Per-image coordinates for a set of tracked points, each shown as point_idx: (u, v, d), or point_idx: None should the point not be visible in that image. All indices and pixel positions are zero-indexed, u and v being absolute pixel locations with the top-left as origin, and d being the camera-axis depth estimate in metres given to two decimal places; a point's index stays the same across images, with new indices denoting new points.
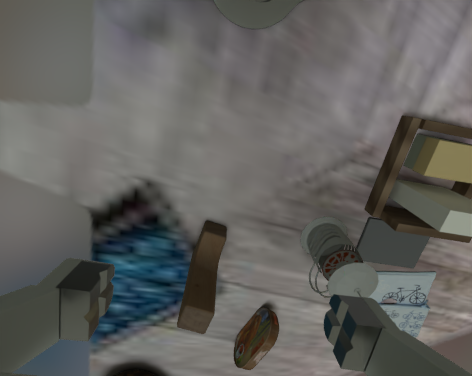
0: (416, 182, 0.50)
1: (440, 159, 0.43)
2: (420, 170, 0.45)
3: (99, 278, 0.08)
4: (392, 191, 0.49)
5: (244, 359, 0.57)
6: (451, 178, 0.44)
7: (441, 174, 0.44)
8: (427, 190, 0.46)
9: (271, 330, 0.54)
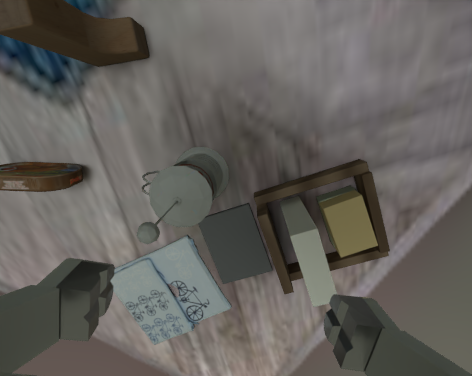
0: None
1: (345, 210, 0.40)
2: (324, 205, 0.41)
3: (99, 278, 0.08)
4: (287, 202, 0.45)
5: None
6: (334, 235, 0.41)
7: (332, 223, 0.41)
8: None
9: (58, 178, 0.40)
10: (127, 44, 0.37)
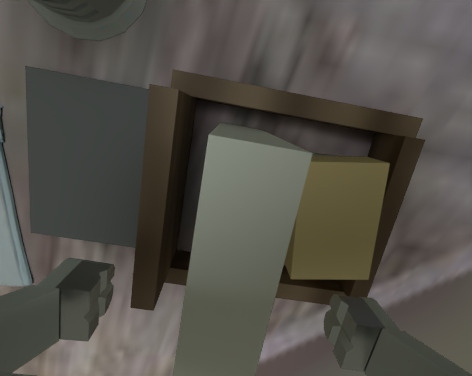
0: None
1: (343, 185, 0.18)
2: None
3: (99, 278, 0.08)
4: (236, 125, 0.21)
5: None
6: (299, 229, 0.19)
7: (305, 203, 0.18)
8: None
9: None
10: None
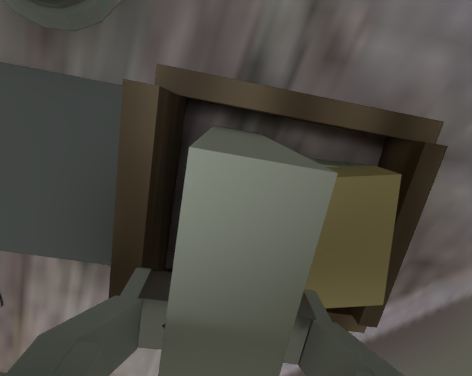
0: None
1: (348, 202, 0.15)
2: None
3: None
4: (231, 129, 0.18)
5: None
6: None
7: None
8: None
9: None
10: None
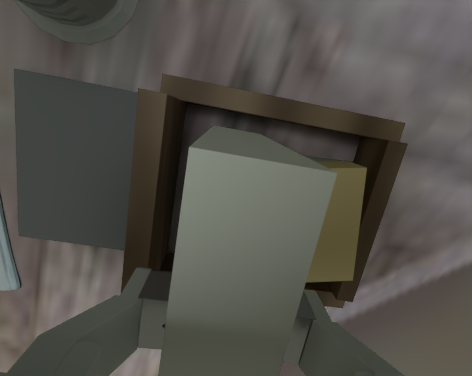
0: None
1: None
2: None
3: None
4: (231, 129, 0.18)
5: None
6: None
7: None
8: None
9: None
10: None
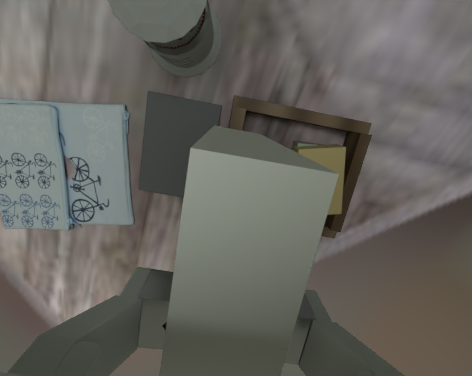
0: None
1: (322, 160, 0.33)
2: (300, 148, 0.34)
3: None
4: (231, 129, 0.18)
5: None
6: None
7: None
8: None
9: None
10: None
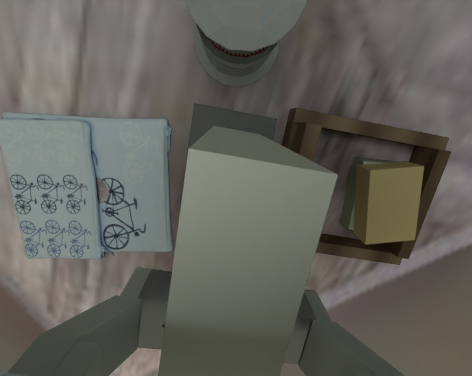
0: None
1: (396, 182, 0.29)
2: (369, 168, 0.29)
3: None
4: (231, 129, 0.18)
5: None
6: (369, 212, 0.30)
7: (373, 195, 0.29)
8: None
9: None
10: None
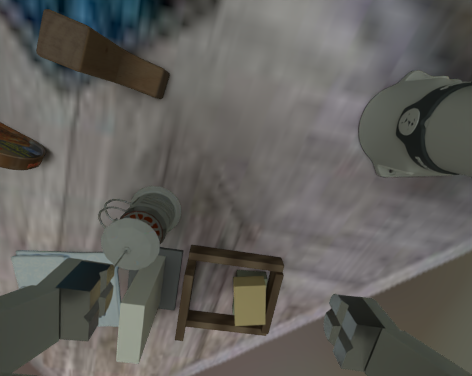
0: (162, 277, 0.53)
1: (250, 293, 0.49)
2: (236, 282, 0.50)
3: (99, 278, 0.08)
4: None
5: None
6: (235, 308, 0.50)
7: (237, 299, 0.49)
8: (157, 286, 0.48)
9: (17, 159, 0.39)
10: (149, 88, 0.40)
